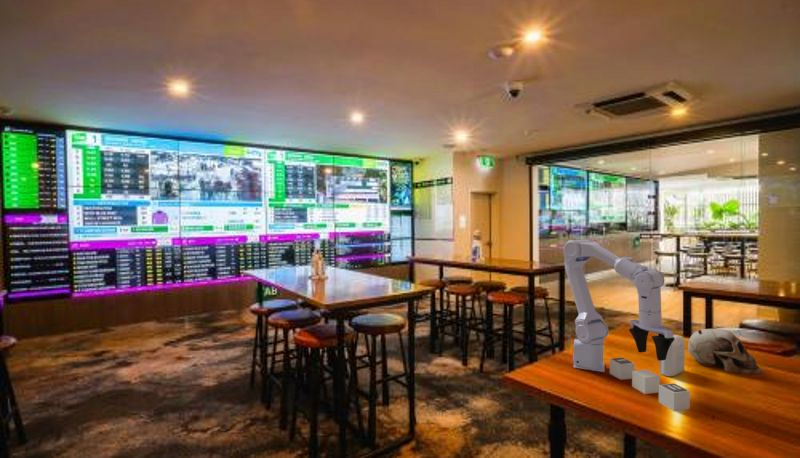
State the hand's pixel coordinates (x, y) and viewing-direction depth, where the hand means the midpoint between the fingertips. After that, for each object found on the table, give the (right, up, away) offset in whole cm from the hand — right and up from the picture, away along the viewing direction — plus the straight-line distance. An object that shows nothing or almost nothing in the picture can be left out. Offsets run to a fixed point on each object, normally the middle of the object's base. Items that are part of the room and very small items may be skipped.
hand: (651, 355), depth 119 cm
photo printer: (+15, -10, +13) cm, 22 cm away
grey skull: (+36, -9, +18) cm, 41 cm away
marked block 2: (+1, -11, -9) cm, 14 cm away
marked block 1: (-3, -10, +11) cm, 15 cm away
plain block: (-1, -11, +1) cm, 11 cm away
